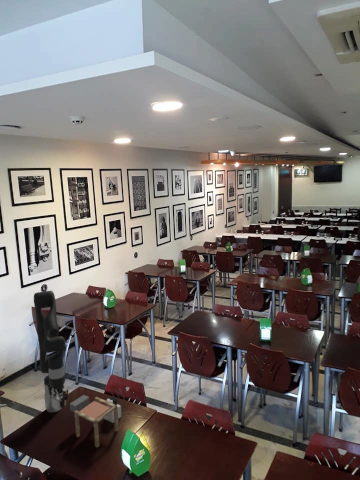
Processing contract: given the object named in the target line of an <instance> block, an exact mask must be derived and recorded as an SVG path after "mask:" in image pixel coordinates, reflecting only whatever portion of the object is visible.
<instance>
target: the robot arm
mask: <svg viewBox="0 0 360 480" xmlns="http://www.w3.org/2000/svg"><path fill="white" fill-rule="evenodd" d="M33 304H34V311H35V318H36V319H35V320H36V329H37V341H38V348H39V368H40V372H41V373H42V374H48V375H46V376H45V377H44V379H43V384H44V385H43V387H44V406H45V409H46V411H47V413H57V412H60V410H62V409H63V408H64V407H65V406H66V405H65V400H68V395H69V389H68V388H65V386H64V384H65V382H66V378H65V376H66V375H65V374H66V373H65V367H64V359H63V358H64V352H65V349H66V338H64V337H63V336H61V335H60V336H59V334H60V328H59V324H58V317H57V303H56V298H55V293H54V291H53V290H45V291H39V292H35V293H34V294H33ZM48 308H49V311H48V313H47V314H46V315H45V314H44V313H43V311H42V309H48ZM54 352H55V353H54ZM47 353H48V354H51V353H52V354H51V355H48V356H47ZM60 394H61V395H60ZM55 395H58V397H59V399H60V407H61V408H60V409H59V410H57V409H55V408H53V407H52V401H51V398H52V397H54V396H55ZM61 396H62V398H61Z"/></svg>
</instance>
